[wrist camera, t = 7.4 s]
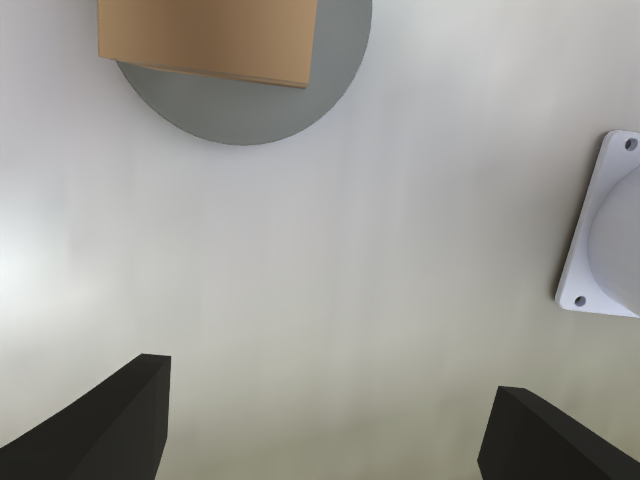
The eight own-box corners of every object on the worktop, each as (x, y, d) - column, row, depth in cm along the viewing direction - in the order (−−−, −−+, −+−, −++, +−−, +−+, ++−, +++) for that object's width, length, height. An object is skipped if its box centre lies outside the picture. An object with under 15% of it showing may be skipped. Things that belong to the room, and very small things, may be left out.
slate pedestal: (382, -100, 16) (394, -127, 14) (344, 154, 19) (350, 160, 17) (122, -148, 15) (97, -184, 13) (119, 124, 18) (98, 127, 16)
